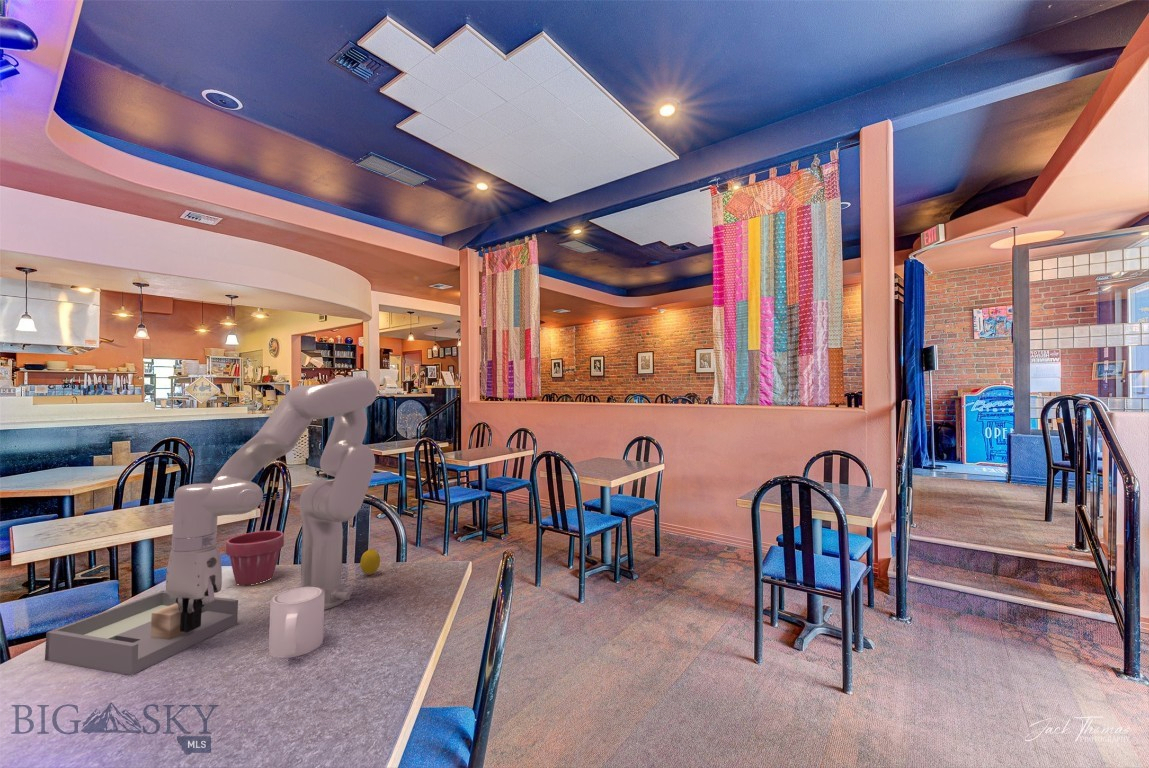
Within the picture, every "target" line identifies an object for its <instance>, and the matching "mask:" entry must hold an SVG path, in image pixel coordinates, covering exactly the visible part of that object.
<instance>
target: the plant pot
mask: <svg viewBox="0 0 1149 768" xmlns="http://www.w3.org/2000/svg"><path fill="white" fill-rule="evenodd" d="M225 543H226V544H225V555H226V556H228V557H229V560H230V564H231V569H232V573H233V577H234V581H235V584H236V585H237V584H239V585H251V584H256V583H260V582H263V581H266V580H268V579H270V578H272V577H274V574H275V569H276V567H277V563H278V559H279V555H280V552H281V549H282V548H283V547H284V543H285V537H284V532H282V531H279V530H259V531H252V532H248V533H247V532H246V533H242V534H238V535H234V536H232V537H230V538H228V539H227V540H226V542H225ZM272 579H273V578H272ZM239 585H238V586H239ZM251 586H252V585H251Z"/></svg>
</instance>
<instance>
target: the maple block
mask: <svg viewBox="0 0 1149 768" xmlns="http://www.w3.org/2000/svg"><path fill="white" fill-rule="evenodd" d="M181 613H182V612H179V610H178V604H177V603H176V604H173V605H171V606H168V607H166V608H163V609H161V610H158V611H155V612H153V613H152V617H151V637H154V638H161V639H168V640H170V639H172V638H174V637H176V636H178V635H180V634H183V633H185V632H181V631H180V619H181Z"/></svg>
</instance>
